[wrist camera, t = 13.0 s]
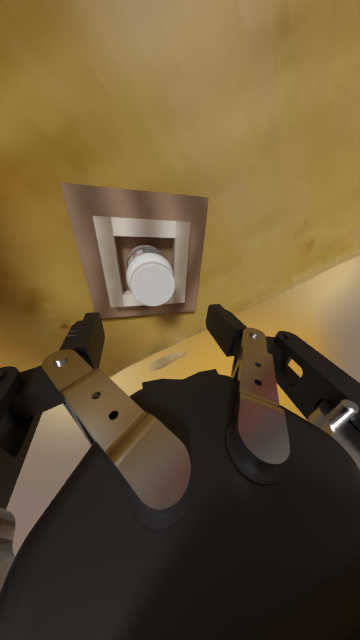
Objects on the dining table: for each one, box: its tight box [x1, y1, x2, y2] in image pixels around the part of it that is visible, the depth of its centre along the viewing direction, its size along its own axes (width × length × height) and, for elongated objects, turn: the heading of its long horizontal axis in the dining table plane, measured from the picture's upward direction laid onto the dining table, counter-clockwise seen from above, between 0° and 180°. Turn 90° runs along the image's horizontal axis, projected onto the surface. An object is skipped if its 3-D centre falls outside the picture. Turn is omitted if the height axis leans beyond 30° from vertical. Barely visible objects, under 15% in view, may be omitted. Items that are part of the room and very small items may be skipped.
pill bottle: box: [126, 245, 175, 306], centre depth 21 cm, size 6×6×10 cm
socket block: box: [61, 183, 208, 318], centre depth 25 cm, size 18×18×4 cm
